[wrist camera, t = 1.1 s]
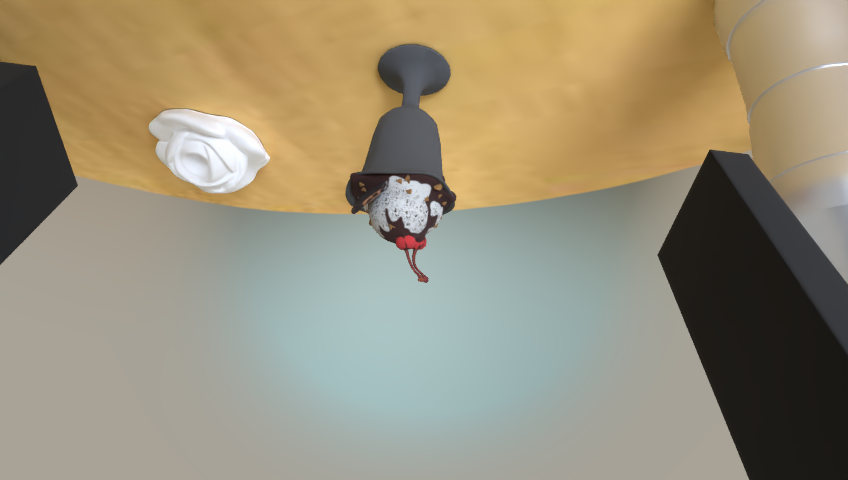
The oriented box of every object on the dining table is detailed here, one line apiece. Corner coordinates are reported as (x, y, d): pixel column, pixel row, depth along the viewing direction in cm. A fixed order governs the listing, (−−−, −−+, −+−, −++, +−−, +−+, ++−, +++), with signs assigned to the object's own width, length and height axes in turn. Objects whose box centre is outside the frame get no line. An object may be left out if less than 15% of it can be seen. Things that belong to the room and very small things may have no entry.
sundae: (466, 100, 40) (455, 296, 34) (376, 102, 41) (349, 292, 35) (461, 31, 34) (446, 253, 28) (356, 35, 35) (319, 250, 29)
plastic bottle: (713, 31, 33) (778, 369, 24) (699, -62, 28) (774, 327, 19) (848, -10, 30) (975, 363, 21) (860, -124, 24) (1034, 310, 16)
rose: (206, 219, 52) (108, 167, 44) (216, 178, 54) (125, 122, 46) (285, 199, 47) (190, 138, 39) (294, 155, 49) (205, 88, 41)
